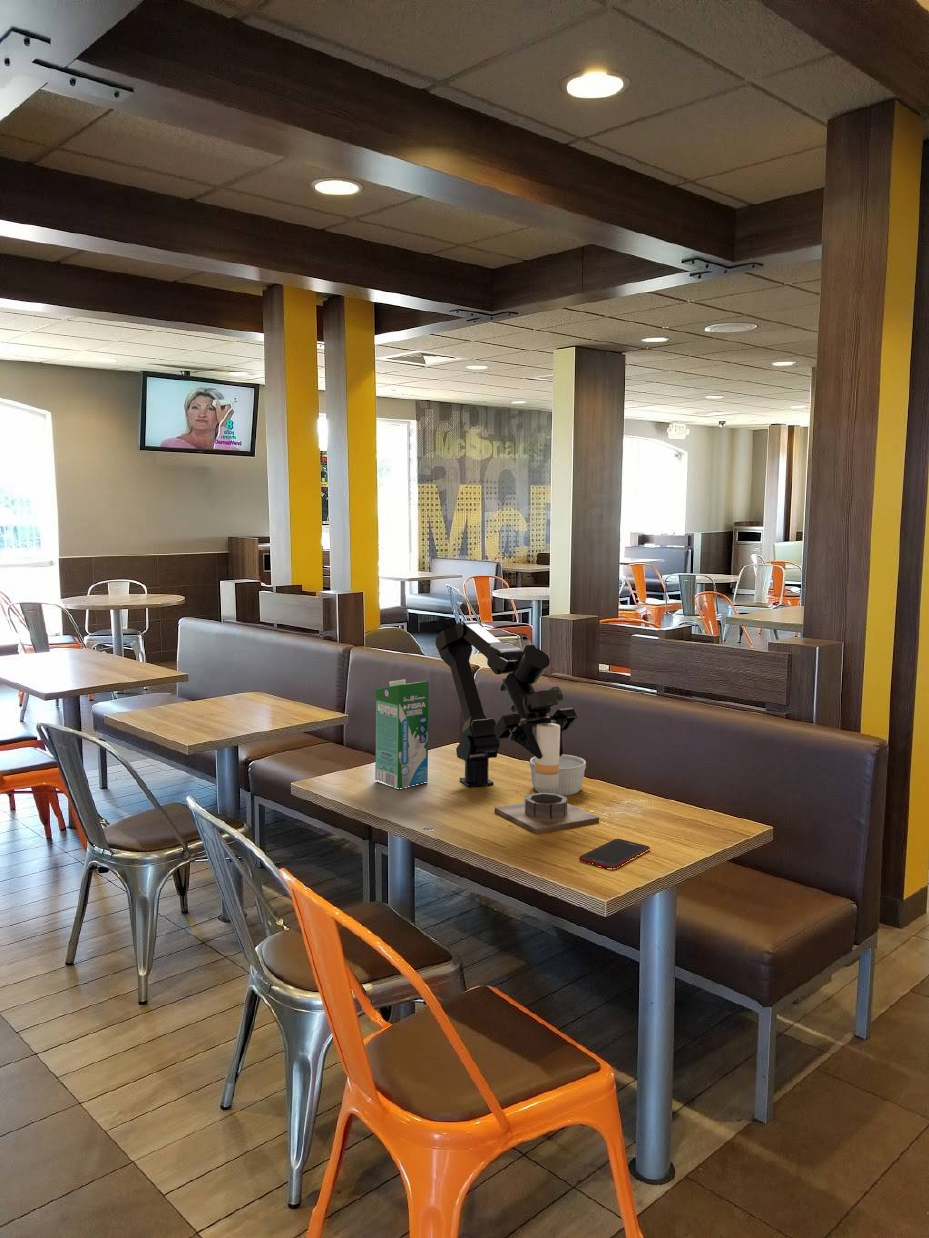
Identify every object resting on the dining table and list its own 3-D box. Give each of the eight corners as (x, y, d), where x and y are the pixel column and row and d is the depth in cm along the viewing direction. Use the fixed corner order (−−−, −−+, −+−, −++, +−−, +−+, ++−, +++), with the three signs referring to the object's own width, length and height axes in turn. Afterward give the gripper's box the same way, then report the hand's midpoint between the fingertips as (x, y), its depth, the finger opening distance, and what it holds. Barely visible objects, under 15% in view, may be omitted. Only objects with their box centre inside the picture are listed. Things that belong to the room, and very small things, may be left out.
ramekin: (554, 801, 212) (555, 771, 212) (517, 787, 223) (518, 758, 222) (596, 791, 220) (597, 762, 220) (559, 778, 231) (559, 751, 230)
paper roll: (530, 786, 199) (532, 726, 197) (541, 780, 203) (542, 721, 202) (552, 790, 196) (554, 729, 195) (562, 784, 201) (564, 724, 199)
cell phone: (576, 862, 175) (577, 857, 175) (616, 842, 186) (616, 837, 186) (613, 872, 170) (613, 867, 170) (651, 851, 182) (651, 846, 181)
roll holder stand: (494, 811, 203) (494, 793, 203) (554, 801, 211) (555, 784, 211) (536, 833, 190) (536, 814, 189) (598, 822, 198) (599, 803, 197)
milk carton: (404, 775, 231) (405, 675, 229) (428, 783, 225) (429, 680, 222) (375, 782, 225) (375, 679, 223) (398, 790, 219) (399, 684, 216)
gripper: (501, 677, 196) (530, 740, 188) (574, 671, 205) (604, 731, 197) (481, 707, 204) (508, 769, 195) (552, 700, 213) (580, 759, 205)
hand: (551, 756), depth 198 cm, fingers closed on paper roll, 5 cm apart
